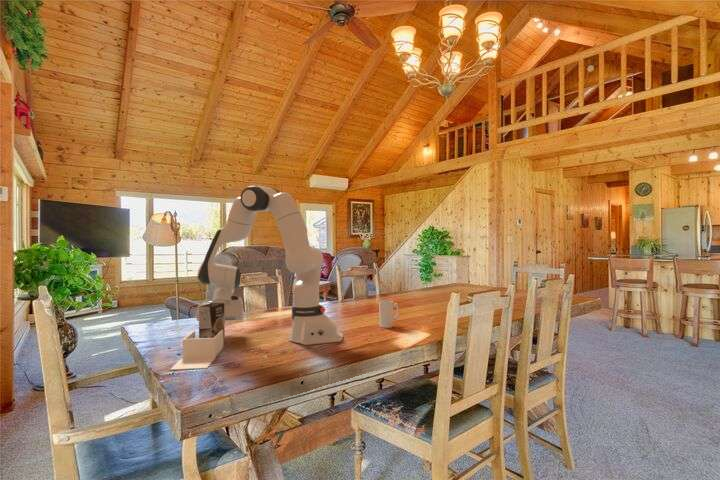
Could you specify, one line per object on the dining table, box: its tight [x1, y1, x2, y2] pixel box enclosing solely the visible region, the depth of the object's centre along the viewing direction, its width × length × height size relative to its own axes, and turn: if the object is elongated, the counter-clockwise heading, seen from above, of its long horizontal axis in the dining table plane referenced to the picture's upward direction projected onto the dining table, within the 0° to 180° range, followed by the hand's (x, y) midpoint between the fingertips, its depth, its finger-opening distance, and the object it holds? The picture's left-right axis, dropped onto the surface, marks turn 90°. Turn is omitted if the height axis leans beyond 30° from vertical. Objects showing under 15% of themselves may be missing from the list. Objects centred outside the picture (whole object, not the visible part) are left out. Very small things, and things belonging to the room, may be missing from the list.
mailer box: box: [169, 330, 224, 371], centre depth 142 cm, size 12×25×7 cm, turn 7°
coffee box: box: [198, 303, 226, 343], centre depth 160 cm, size 9×6×16 cm
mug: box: [378, 299, 400, 329], centre depth 187 cm, size 10×7×12 cm, turn 105°
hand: (217, 328), depth 169 cm, fingers closed
